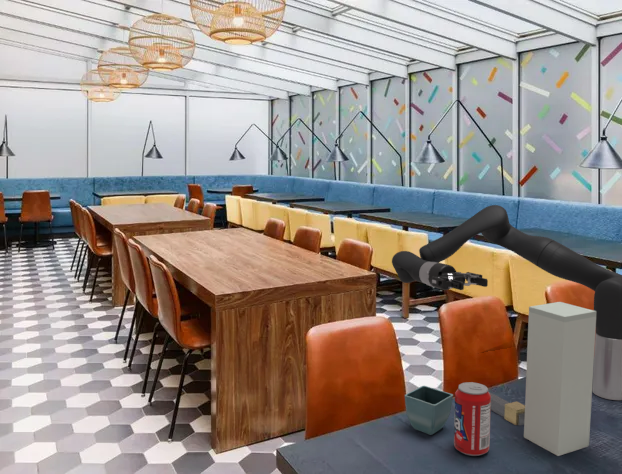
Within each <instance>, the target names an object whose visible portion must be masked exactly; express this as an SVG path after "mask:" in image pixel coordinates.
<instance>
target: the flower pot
mask: <svg viewBox="0 0 622 474" xmlns="http://www.w3.org/2000/svg"><path fill="white" fill-rule="evenodd" d="M453 399H454V394H453V393H450V392H446V391H443V390H440V389H437V388H433V387H431V386H427V385H422V386H420V387H417V388H416V389H414V390H412V391H409V392H407V393H406V394H404V401H405V403H404V404H405V412H406V417H407V419H408V421H409V423H410V425H411V426H412V428H413V429H414V430H416V431H419V432H422V433H424V434H427V435H430V436H432V435H434V434H436V433H437V432H439V431H440V430H442V429H443V427H445V424H447V421H448V419H449V417H450V414H451V409H452V404H453Z"/></svg>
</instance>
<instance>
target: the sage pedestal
mask: <svg viewBox="0 0 622 474" xmlns="http://www.w3.org/2000/svg"><path fill="white" fill-rule="evenodd" d="M527 322H528V324H527V325H528V327H527V347H526V375H525V397H524V398H525V401H524V405H525V420H524V425H523V426H524V427H523V438H524V439H526V440H529V441H530V442H532V443H533V444H535V445H537V446H539V447H541V448H543V449H544V450H546V451H548V452H549V453H552V454H554V455H555V456H557V457H560V456H562V455H565V454H569V453H572V452H575V451H578V450H581V449H584V448H588V447H590V433H591V431H590V430H591V415H592V397H593V372H594V355H595V336H596V311H594V309H589V308H585V307H583V306H582V307H581V306H577V305H574V304H570V303H565V302H563V301H556V302H550V303H544V304H538V305H537V304H536V305H531V306H529V307H528V320H527Z"/></svg>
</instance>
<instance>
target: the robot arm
mask: <svg viewBox="0 0 622 474" xmlns="http://www.w3.org/2000/svg"><path fill="white" fill-rule="evenodd" d="M479 234H481V236H483V237H484V239H485V240H487V241H489V242H490V243H493V244H495V245H497V246H500V247H502V248H504V249H506V250H508V251H510V252H513V253H514V254H516V255H518V256H519V257H521V258H522V259H525V260H526V261H528V262H529V263H531V264H533V265H535V266H536V267H537V268H539V269H541V270H543V271H545V272H546V273H548V274H550V275H552V276H555V277H557V278H559V279H563V280H565V281H569V282H573V283H576V284H579V285H581V286H584V287H586V288H588V289H590V290H592V291H594V295H593V311H596V329H595V347H594V365H593V383H592V394H594V395H596V396H598V397H600V398H602V399H606V400H613V401H622V274H620V273H618V272H615V271H612V270H610V269H607V268H606V267H603V266H601V265H599V264H597V263H595V262H594V261H592V260H590V259H588V258H586V257H585V256H583V255H581V254H579V253H578V252H576V251H574V250H572V249H570V248H569V247H568V246H565V245H564V244H562V243H560V242H558V241H556V240H554V239H552V238H549V237H546V236H540V235H539V236H537V235H530V234H527V233H525V232H522V231H521V230H519V229H517V228H516V227H514V226H513V225H512V224H511V223H510V221H509V215H508V212H507V210H506V209H505V208H504V207H503V206H501V205H499V204H493V205H489V206H486V207H484V208H483V209H481V210H479V211H478V212H476V213H474V215H473V216H471V217H469V219H466V220H465V221H464V222H462V223H461V224H460V225H458V226H456V227H455V228H454V229H452V230H451V231H449V232H447V233H446V234H444V235H442V236H440V237H438V238H436V239H435V240H433V241H431V242H429V243H426V244H425V245H423V246H421V247H420V248H419V249H418V252H419V256H418V255H417V254H415V253H413V252H411V251H408V250H401V251H397V252H396V253H395V254H394V255H393V256H392V258H391V264H392V267H393V269H394V271H395V273H396V274H397V276H398V278H399V280H400V281H401V282H402V283H403V284H410V283H412V282H415V281H416V282H419V283H422V284H426V286H429V287H433V288H436V289H439V290H443V291H447V290H450V289H451V290H452V289H455V290H459V291H463V290H464V289H465V286H467V287H470V286H471V285H473V286H474V285H475V286H479V287H484V288H487V287H488V278H484V277H483V274H478V273H474V272H469V271H467V272H465V273H464V272H461V271H457V270H456V268H455V267H454V266H452V265H450V264H445V263H442V262H443V261H444V260H448V258H450V257H452V256H453V255H454V254H455V253H457V251H459V249H460V248H462V247H463V246H464V245H465V244H466V243H467V242H468V241H469V240H470V239H472V238H474V237H475V236H477V235H479ZM466 281H467V282H466Z"/></svg>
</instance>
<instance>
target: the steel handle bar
mask: <svg viewBox="0 0 622 474" xmlns="http://www.w3.org/2000/svg"><path fill="white" fill-rule="evenodd" d="M488 392H489V394H490V395H491V411H492V412H494V413H495V414H497V415H499V416H501V417H502V418H503V419H504V420H506V421H508V422H510V423H511V424H513V425H515V426H520V427H521V426H524V420H525V404H523V403H521V402H519V401H513V402H510V401H508V400H506V399H503V398H502V397H500V396H498V395H496V394H494V393H493V392H490V391H488Z"/></svg>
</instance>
